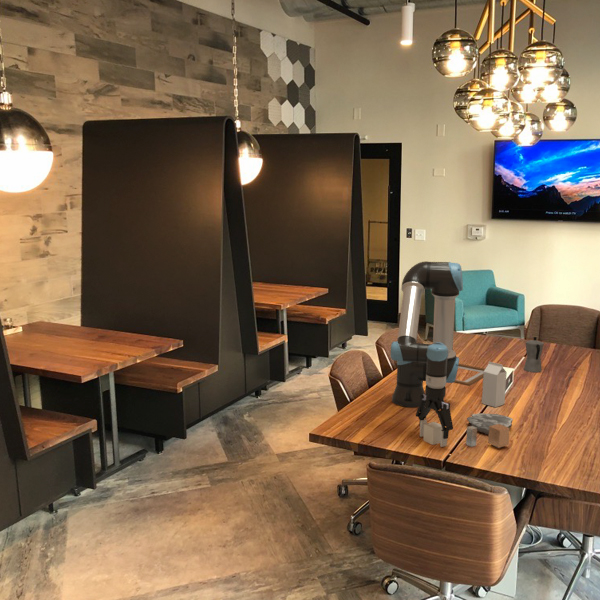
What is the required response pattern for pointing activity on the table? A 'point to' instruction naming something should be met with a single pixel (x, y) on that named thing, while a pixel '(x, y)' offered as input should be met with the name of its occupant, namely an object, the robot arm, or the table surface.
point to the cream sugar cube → (432, 433)
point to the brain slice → (488, 421)
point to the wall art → (472, 379)
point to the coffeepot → (533, 355)
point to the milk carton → (494, 385)
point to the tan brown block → (498, 435)
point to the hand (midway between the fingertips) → (433, 440)
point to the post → (471, 436)
